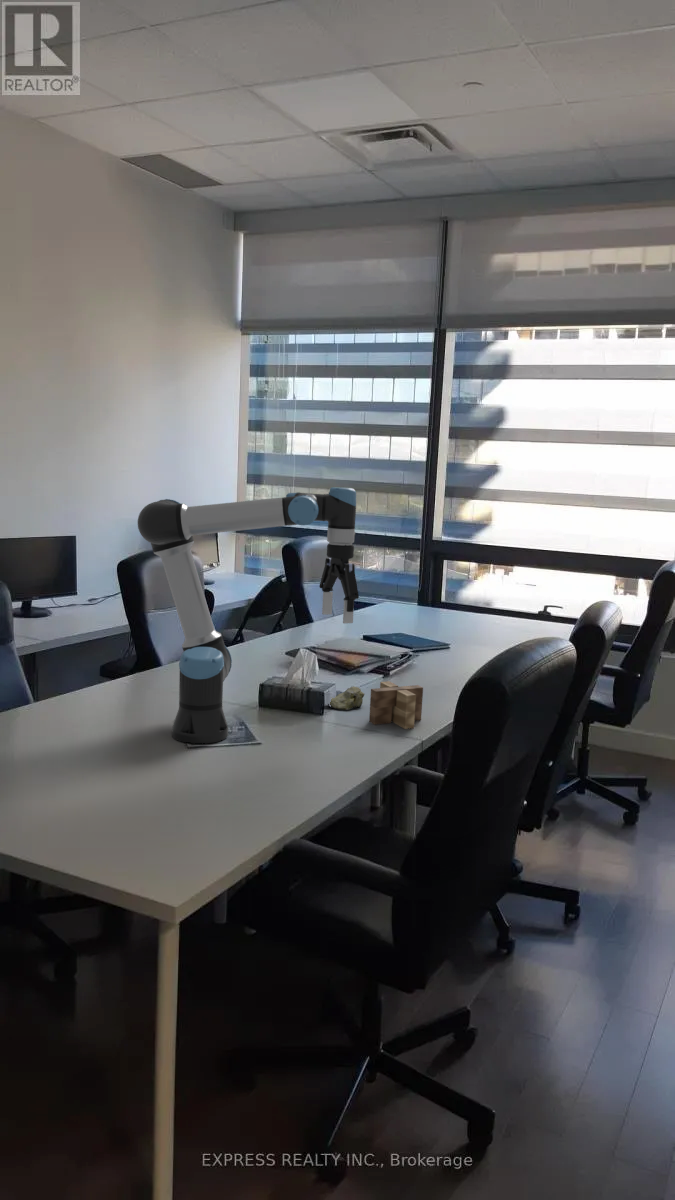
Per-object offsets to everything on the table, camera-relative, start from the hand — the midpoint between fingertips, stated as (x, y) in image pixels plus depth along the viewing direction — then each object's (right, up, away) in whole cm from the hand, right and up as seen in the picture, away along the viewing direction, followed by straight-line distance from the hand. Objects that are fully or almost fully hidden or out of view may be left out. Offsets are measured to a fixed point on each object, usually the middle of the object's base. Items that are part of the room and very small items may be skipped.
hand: (337, 618), depth 254 cm
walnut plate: (+17, -31, +14) cm, 38 cm away
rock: (+2, -28, +27) cm, 39 cm away
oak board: (+17, -31, +14) cm, 38 cm away
